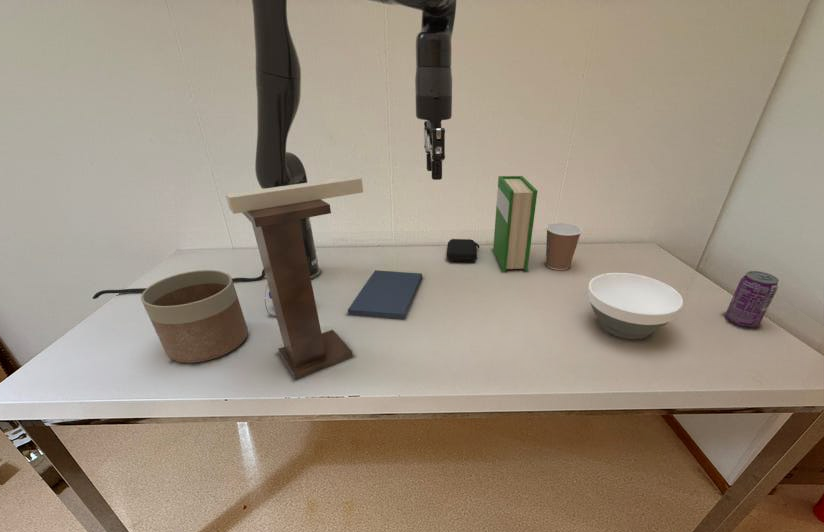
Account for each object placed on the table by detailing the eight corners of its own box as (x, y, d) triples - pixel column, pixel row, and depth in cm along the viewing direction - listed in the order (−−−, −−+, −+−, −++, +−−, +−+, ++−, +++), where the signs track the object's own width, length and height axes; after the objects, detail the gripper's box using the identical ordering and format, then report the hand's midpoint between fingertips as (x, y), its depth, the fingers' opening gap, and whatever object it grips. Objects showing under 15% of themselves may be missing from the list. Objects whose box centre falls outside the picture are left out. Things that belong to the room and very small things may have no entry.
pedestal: (295, 379, 75) (253, 217, 58) (279, 354, 82) (237, 202, 65) (352, 356, 81) (329, 204, 65) (333, 334, 88) (308, 191, 71)
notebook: (348, 314, 95) (347, 309, 95) (375, 274, 114) (375, 270, 114) (404, 319, 94) (403, 314, 93) (422, 278, 113) (422, 273, 112)
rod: (233, 213, 60) (228, 197, 59) (229, 210, 62) (225, 194, 60) (363, 192, 71) (361, 178, 70) (357, 189, 73) (355, 175, 72)
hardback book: (527, 271, 117) (537, 190, 105) (502, 272, 117) (510, 190, 104) (514, 249, 132) (522, 175, 120) (493, 249, 132) (498, 176, 119)
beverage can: (753, 316, 96) (775, 272, 90) (762, 331, 91) (786, 286, 84) (720, 311, 98) (739, 268, 92) (728, 325, 93) (748, 280, 86)
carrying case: (480, 264, 121) (478, 246, 134) (480, 255, 120) (479, 237, 132) (446, 263, 122) (448, 245, 134) (446, 254, 120) (448, 237, 133)
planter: (173, 331, 89) (149, 277, 82) (249, 317, 94) (233, 265, 87) (160, 373, 76) (131, 313, 69) (248, 354, 82) (230, 297, 75)
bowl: (689, 347, 85) (704, 310, 80) (606, 356, 82) (617, 318, 77) (638, 303, 101) (648, 269, 96) (567, 308, 99) (574, 275, 94)
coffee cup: (548, 256, 127) (554, 220, 121) (579, 264, 122) (587, 227, 116) (535, 266, 120) (540, 229, 114) (567, 275, 115) (574, 237, 109)
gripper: (412, 91, 85) (414, 168, 94) (419, 94, 73) (421, 183, 82) (446, 91, 86) (445, 168, 95) (458, 95, 74) (456, 182, 83)
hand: (434, 174), depth 88 cm, fingers open, 8 cm apart
